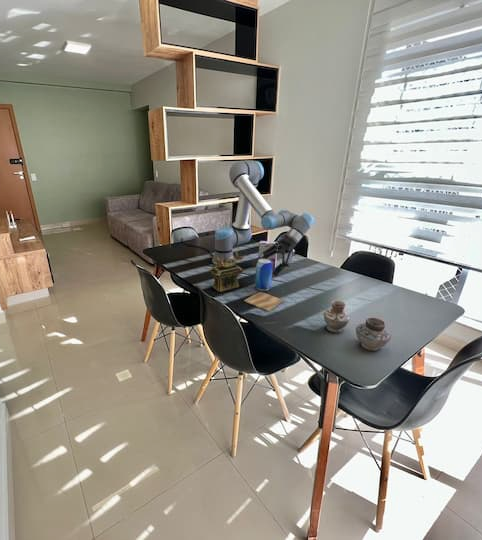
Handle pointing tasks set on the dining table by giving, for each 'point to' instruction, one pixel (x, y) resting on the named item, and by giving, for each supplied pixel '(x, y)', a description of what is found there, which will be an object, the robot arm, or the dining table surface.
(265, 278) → the beer can
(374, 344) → the pottery
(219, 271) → the decorative box
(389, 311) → the dining table surface
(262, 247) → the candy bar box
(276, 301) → the corner mat
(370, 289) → the dining table surface
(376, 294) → the dining table surface
